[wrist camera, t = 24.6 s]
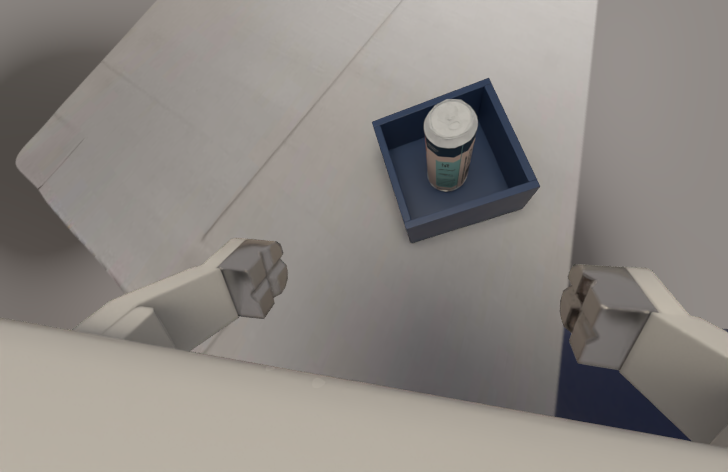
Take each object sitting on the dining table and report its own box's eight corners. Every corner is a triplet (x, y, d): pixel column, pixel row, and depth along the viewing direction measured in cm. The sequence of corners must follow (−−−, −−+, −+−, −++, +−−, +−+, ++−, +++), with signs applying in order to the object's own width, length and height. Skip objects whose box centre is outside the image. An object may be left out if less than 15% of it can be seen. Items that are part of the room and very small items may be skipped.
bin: (522, 208, 37) (540, 186, 31) (411, 243, 39) (406, 229, 33) (480, 114, 41) (488, 77, 35) (381, 150, 43) (371, 121, 37)
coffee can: (455, 150, 40) (462, 85, 29) (474, 181, 38) (489, 125, 27) (420, 168, 40) (414, 111, 29) (438, 199, 39) (438, 151, 28)
